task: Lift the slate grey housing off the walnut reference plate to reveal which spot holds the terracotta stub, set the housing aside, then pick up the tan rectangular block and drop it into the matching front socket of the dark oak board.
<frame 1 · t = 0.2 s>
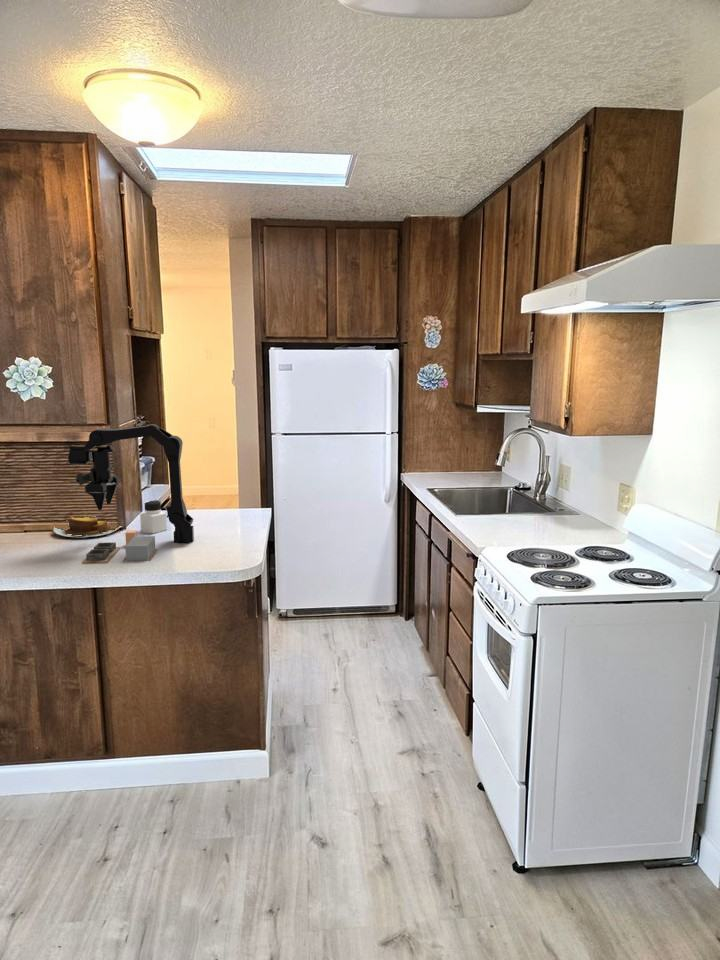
hand: (104, 507, 225), 14 cm above the counter, tool pointing down, fingers open, 9 cm apart
socket board: (102, 558, 213), on the counter
medicine bottle: (154, 531, 249), on the counter
reference plate: (141, 557, 215), on the counter
tan rectangular block: (131, 547, 226), on the counter
food on plate: (89, 532, 247), on the counter
housing: (141, 555, 215), point 1 cm above the counter, touching reference plate
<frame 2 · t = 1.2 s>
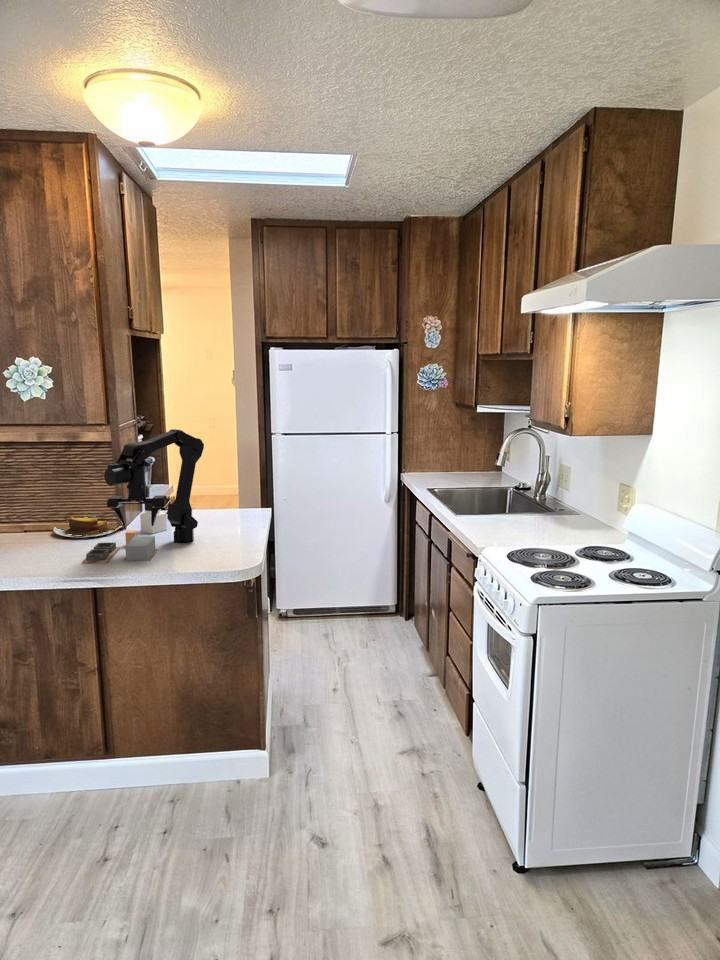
hand: (138, 525, 213), 11 cm above the counter, tool pointing down, fingers open, 9 cm apart
nothing on the counter moved.
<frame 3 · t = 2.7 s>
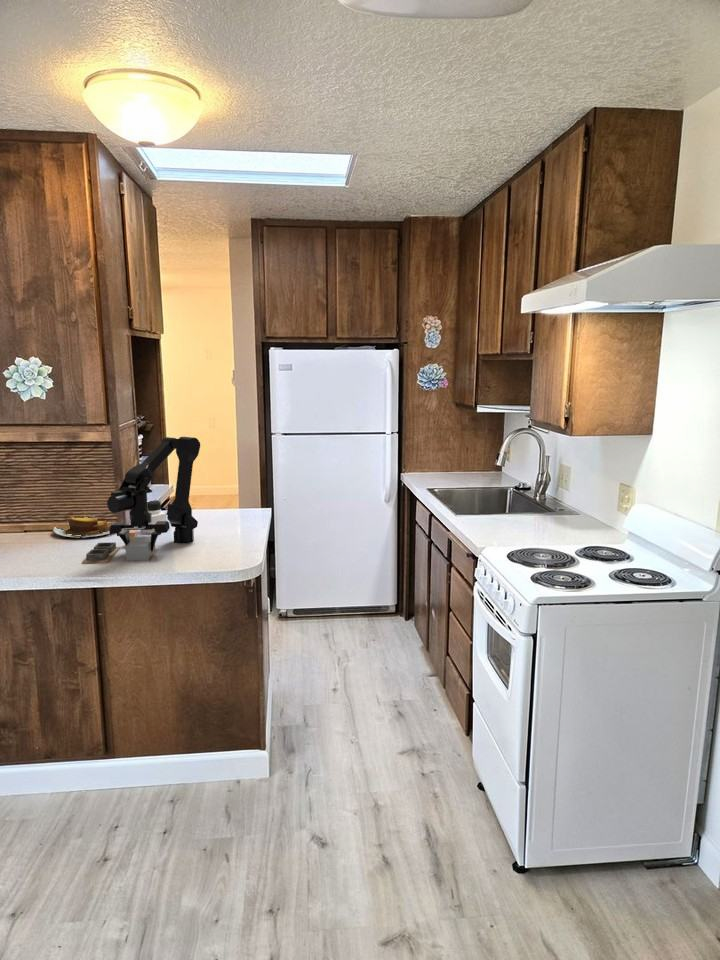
hand: (141, 551, 214), 2 cm above the counter, tool pointing down, fingers closed on housing, 7 cm apart
housing: (141, 555, 215), point 1 cm above the counter, touching gripper, reference plate
everything else where it was.
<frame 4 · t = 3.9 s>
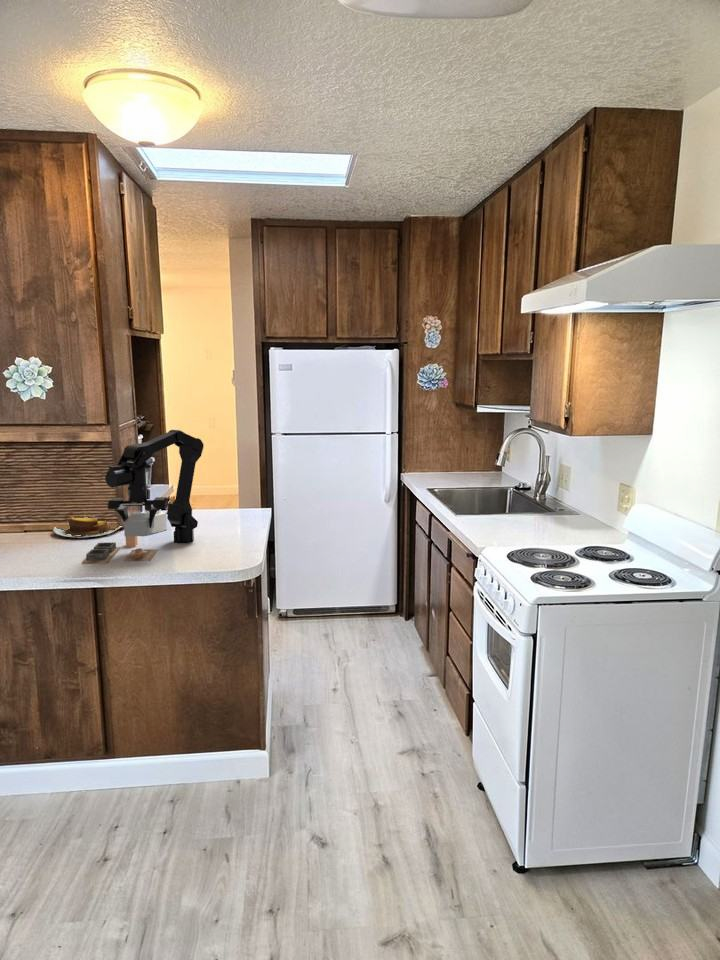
hand: (139, 527, 213), 10 cm above the counter, tool pointing down, fingers closed on housing, 7 cm apart
housing: (139, 531, 213), point 9 cm above the counter, touching gripper
everything else where it was.
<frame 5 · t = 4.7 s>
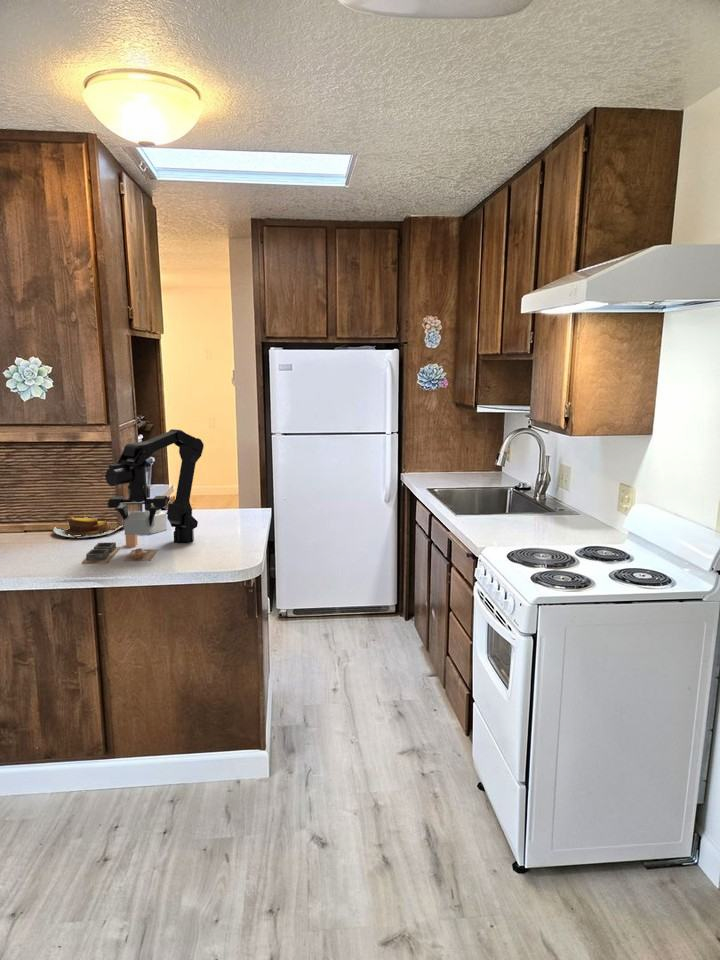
hand: (139, 526, 213), 11 cm above the counter, tool pointing down, fingers closed on housing, 7 cm apart
housing: (139, 529, 213), point 10 cm above the counter, touching gripper
everything else where it was.
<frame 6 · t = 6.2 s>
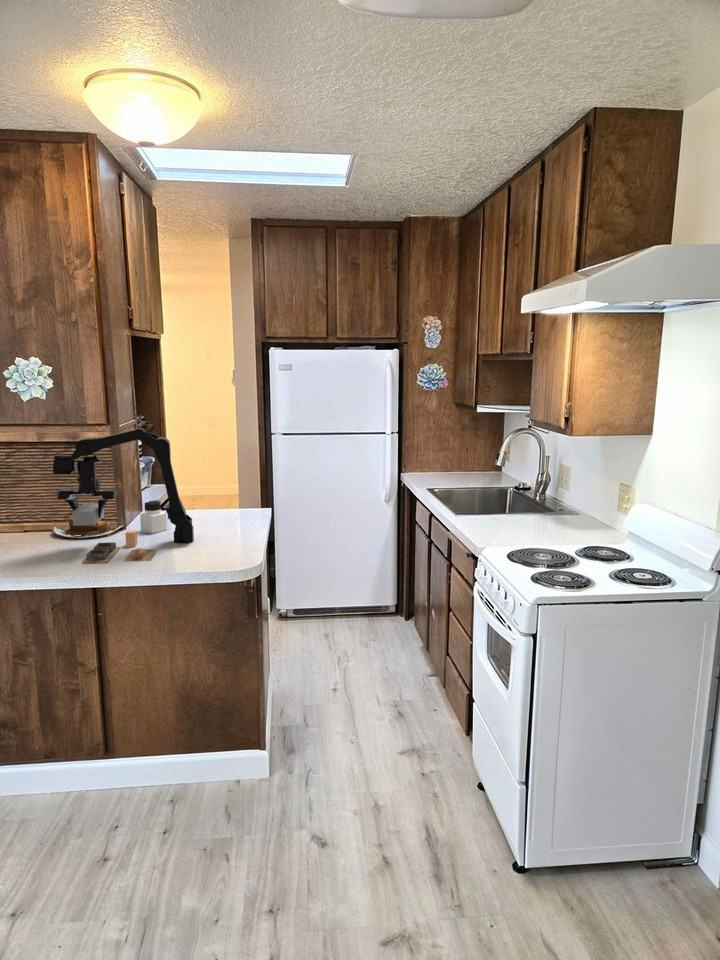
hand: (89, 517, 221), 11 cm above the counter, tool pointing down, fingers closed on housing, 7 cm apart
housing: (89, 521, 222), point 10 cm above the counter, touching gripper
everything else where it was.
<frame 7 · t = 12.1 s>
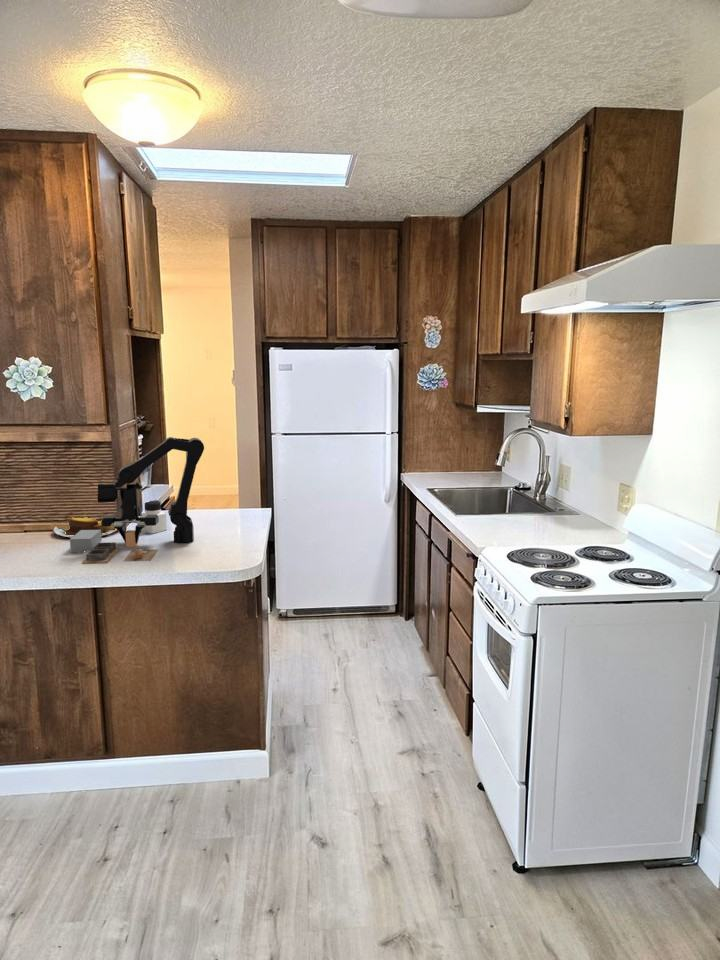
hand: (131, 543, 225), 2 cm above the counter, tool pointing down, fingers closed on tan rectangular block, 3 cm apart
tan rectangular block: (131, 547, 226), on the counter, touching gripper
housing: (86, 547, 225), on the counter
everything else where it was.
when the fingers open (4 cm above the counter, at t = 16.0 s): tan rectangular block stays where it is, resting on socket board.
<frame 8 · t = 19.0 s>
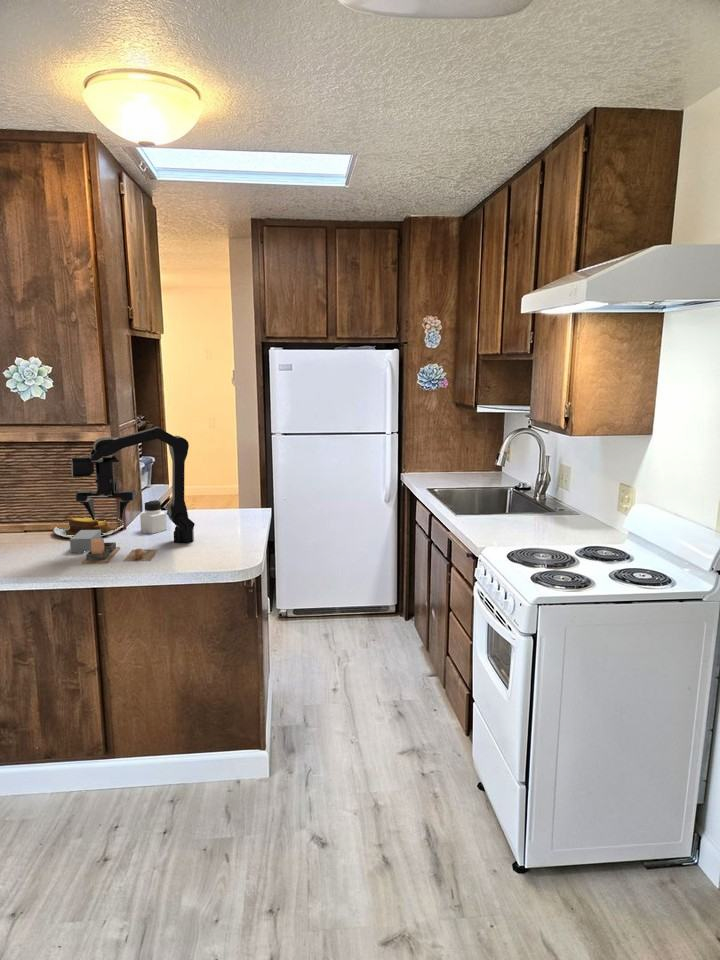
hand: (107, 519, 217), 12 cm above the counter, tool pointing down, fingers open, 9 cm apart
tan rectangular block: (98, 557, 209), point 1 cm above the counter, touching socket board
at the end: tan rectangular block 0.1 cm from the target spot on the socket board, point 1.5 cm above the socket board's base; tan rectangular block tilted 0°; housing moved 25.4 cm from its start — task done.
